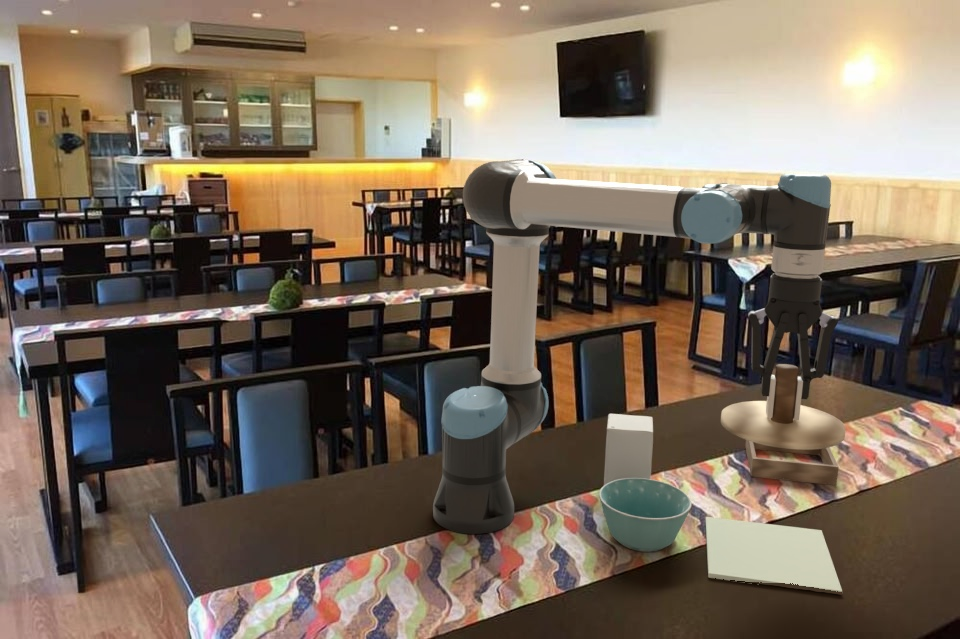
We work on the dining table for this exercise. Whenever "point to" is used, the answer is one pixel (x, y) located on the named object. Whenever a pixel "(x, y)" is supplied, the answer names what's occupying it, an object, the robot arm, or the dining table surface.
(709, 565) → the mat
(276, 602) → the dining table surface
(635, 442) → the supplement box
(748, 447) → the holder corral
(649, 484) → the bowl
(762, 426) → the lid
